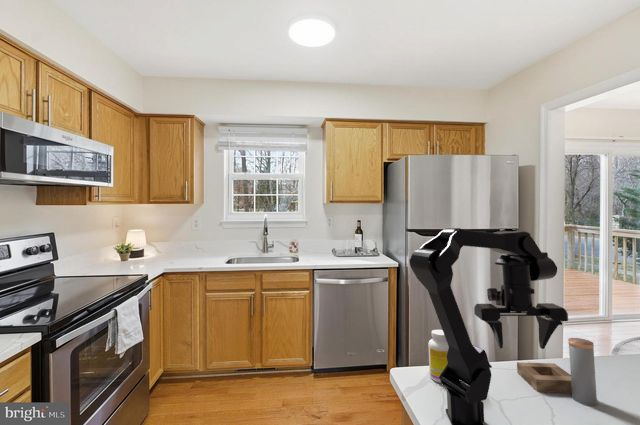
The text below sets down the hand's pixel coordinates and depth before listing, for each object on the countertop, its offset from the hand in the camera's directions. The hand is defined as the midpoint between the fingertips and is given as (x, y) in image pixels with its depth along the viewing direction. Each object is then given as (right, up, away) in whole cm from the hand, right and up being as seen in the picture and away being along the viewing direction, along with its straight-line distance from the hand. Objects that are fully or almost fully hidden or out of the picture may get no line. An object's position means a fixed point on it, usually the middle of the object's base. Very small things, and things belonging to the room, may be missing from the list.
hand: (521, 348), depth 74 cm
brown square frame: (+13, -13, +9) cm, 20 cm away
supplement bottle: (-14, -14, +12) cm, 24 cm away
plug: (+15, -13, 0) cm, 20 cm away
